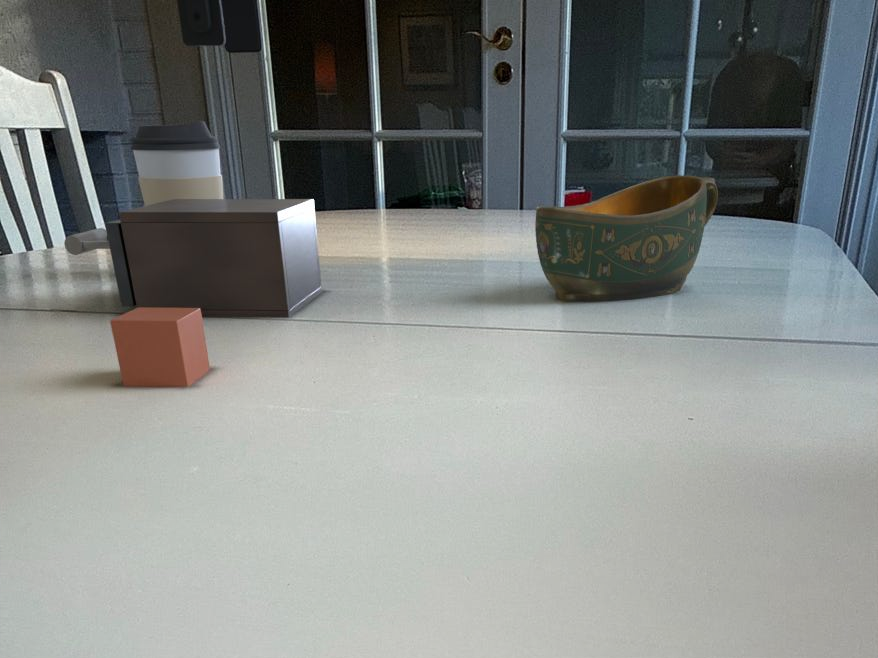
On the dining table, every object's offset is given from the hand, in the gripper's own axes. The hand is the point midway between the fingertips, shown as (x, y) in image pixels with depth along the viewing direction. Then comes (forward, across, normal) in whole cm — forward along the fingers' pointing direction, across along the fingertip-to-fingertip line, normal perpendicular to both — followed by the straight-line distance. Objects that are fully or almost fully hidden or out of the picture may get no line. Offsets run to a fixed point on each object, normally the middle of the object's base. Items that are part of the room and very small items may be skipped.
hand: (226, 49), depth 73 cm
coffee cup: (+20, -19, -13) cm, 30 cm away
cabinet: (+20, -2, -3) cm, 20 cm away
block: (+20, +25, +1) cm, 32 cm away
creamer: (+20, -10, +34) cm, 41 cm away
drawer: (+19, -2, -8) cm, 21 cm away
